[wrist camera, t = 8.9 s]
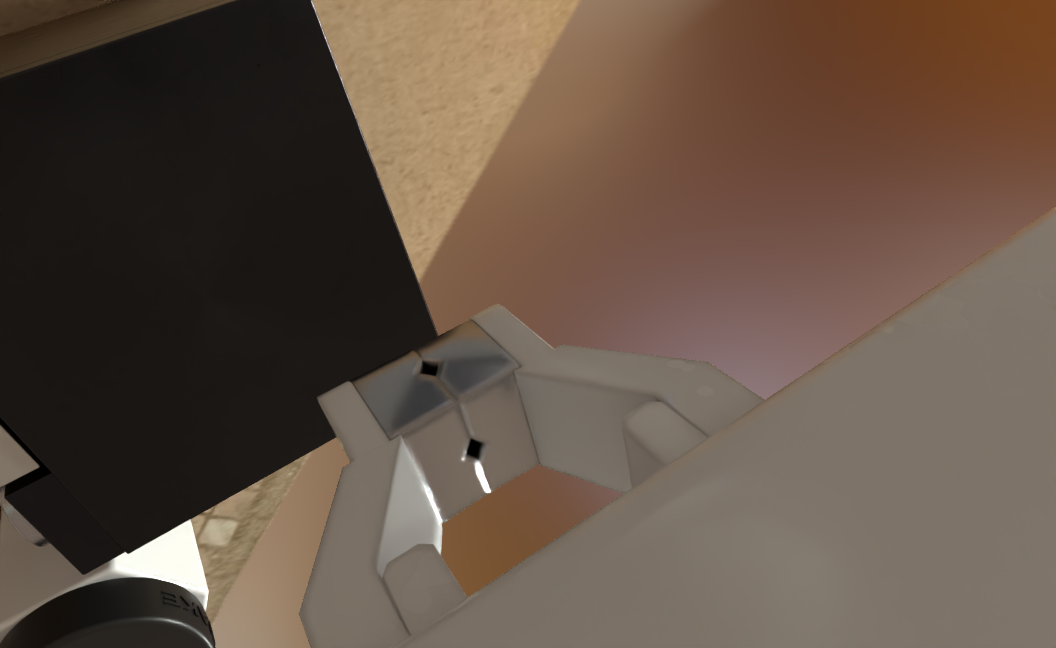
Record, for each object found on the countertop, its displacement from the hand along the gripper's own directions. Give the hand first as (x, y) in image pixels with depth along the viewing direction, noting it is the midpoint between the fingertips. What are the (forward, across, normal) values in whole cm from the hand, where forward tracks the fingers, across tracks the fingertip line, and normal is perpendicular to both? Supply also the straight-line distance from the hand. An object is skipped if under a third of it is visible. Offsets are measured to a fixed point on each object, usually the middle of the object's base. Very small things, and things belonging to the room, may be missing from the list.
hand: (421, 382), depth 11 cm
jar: (+27, +14, +19) cm, 36 cm away
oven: (+27, +4, +5) cm, 28 cm away
